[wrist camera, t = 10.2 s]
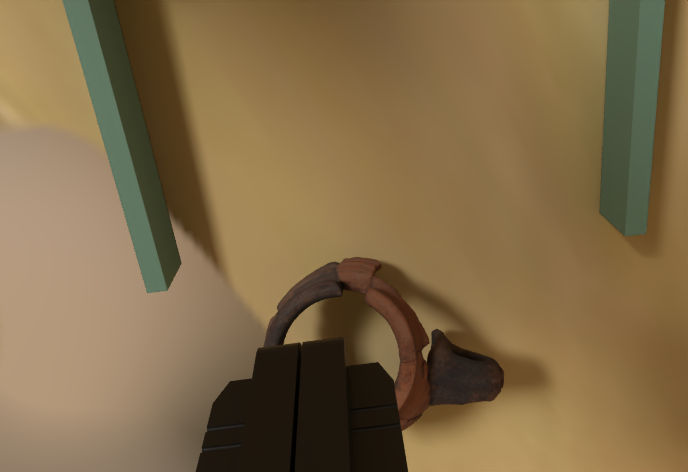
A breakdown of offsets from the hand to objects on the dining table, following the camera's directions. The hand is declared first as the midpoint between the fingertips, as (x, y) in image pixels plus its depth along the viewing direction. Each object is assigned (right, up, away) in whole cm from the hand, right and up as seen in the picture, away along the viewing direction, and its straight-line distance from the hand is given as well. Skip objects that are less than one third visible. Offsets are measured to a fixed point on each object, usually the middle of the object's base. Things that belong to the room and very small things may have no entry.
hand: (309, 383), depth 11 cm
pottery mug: (+4, -4, +25) cm, 26 cm away
